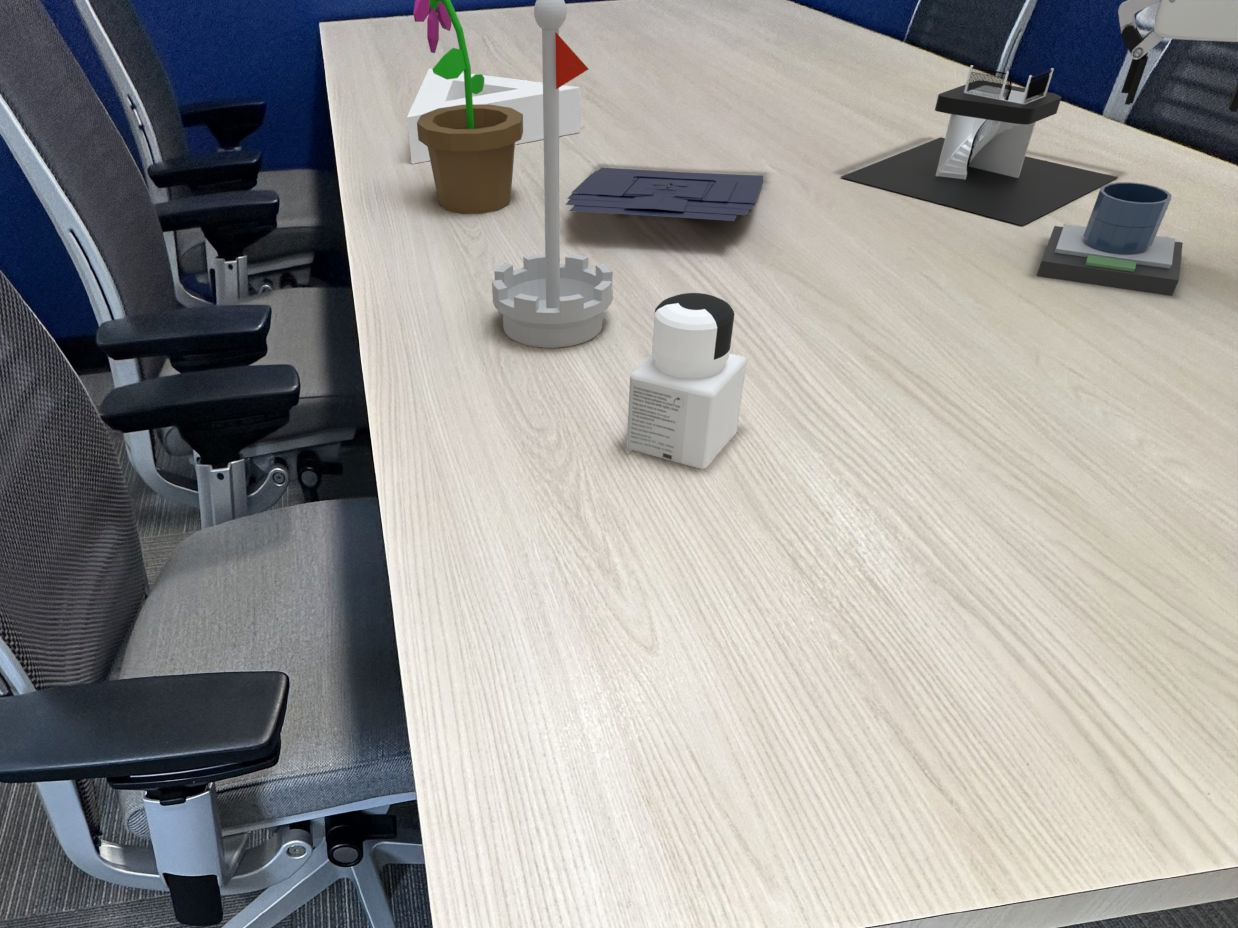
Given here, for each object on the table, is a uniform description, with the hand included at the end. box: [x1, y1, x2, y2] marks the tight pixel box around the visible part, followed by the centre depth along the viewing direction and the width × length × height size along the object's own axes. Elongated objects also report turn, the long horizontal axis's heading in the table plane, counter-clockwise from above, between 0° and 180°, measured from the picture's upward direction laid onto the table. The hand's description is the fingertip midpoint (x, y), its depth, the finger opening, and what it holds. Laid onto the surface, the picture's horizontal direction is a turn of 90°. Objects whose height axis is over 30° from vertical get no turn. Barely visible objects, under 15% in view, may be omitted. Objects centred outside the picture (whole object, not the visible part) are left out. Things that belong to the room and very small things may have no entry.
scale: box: [1036, 223, 1184, 297], centre depth 111 cm, size 14×12×3 cm
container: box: [625, 292, 748, 470], centre depth 83 cm, size 8×8×13 cm
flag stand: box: [491, 0, 614, 349], centre depth 95 cm, size 13×13×30 cm
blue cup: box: [1083, 181, 1172, 254], centre depth 109 cm, size 7×7×5 cm
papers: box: [565, 167, 764, 222], centre depth 130 cm, size 24×30×4 cm
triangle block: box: [406, 67, 581, 165], centre depth 155 cm, size 30×26×6 cm
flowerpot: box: [412, 0, 523, 214], centre depth 125 cm, size 14×14×30 cm
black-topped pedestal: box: [840, 64, 1119, 226], centre depth 132 cm, size 28×26×13 cm
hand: (1179, 105), depth 100 cm, fingers open, 9 cm apart
